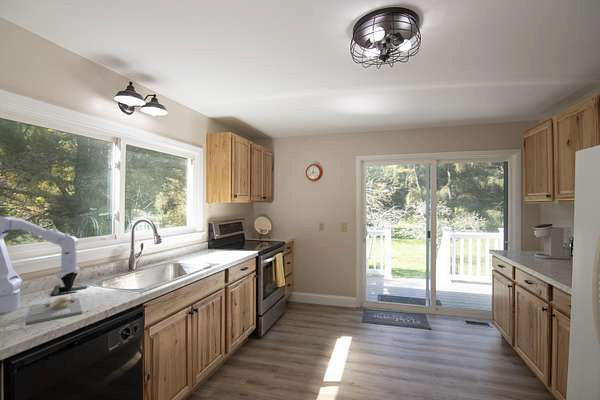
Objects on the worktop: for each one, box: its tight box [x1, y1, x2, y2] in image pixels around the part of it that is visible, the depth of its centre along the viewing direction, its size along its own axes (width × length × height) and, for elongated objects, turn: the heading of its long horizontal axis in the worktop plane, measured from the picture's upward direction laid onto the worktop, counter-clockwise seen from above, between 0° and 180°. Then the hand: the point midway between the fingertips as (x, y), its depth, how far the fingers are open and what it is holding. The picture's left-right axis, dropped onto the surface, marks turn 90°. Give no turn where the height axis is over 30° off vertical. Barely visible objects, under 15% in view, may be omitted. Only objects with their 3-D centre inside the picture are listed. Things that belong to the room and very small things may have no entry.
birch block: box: [53, 296, 69, 309], centre depth 130 cm, size 5×5×4 cm
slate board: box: [25, 296, 83, 327], centre depth 127 cm, size 18×23×3 cm
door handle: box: [49, 284, 88, 297], centre depth 155 cm, size 3×20×16 cm
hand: (68, 288), depth 134 cm, fingers closed
